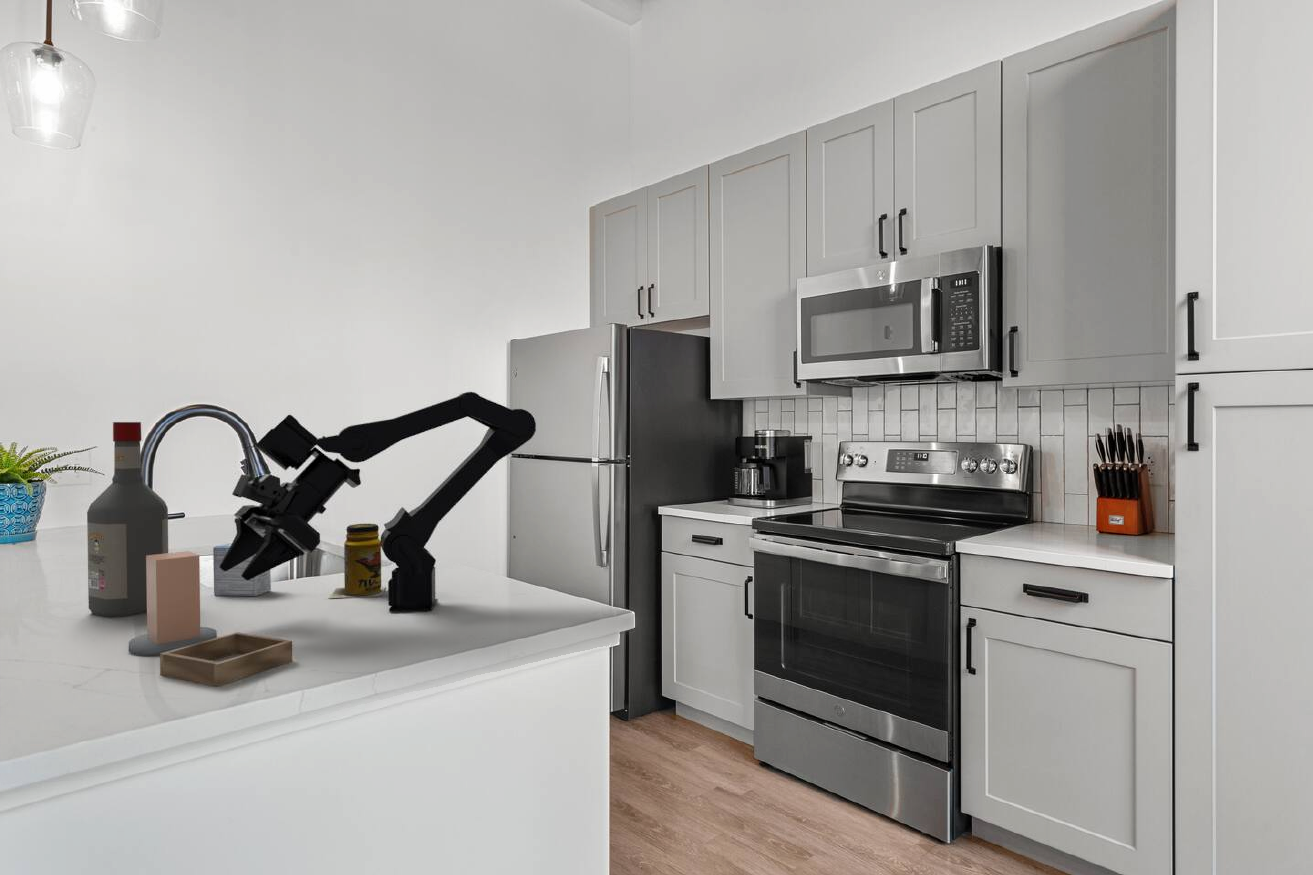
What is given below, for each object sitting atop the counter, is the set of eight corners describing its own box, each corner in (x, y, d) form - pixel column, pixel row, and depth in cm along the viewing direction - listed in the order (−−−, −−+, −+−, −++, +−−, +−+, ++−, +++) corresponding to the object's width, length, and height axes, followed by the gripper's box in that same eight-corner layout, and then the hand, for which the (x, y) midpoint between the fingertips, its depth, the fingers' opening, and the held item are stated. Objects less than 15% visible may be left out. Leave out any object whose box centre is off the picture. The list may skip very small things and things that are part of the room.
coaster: (229, 632, 107) (229, 625, 107) (194, 654, 97) (194, 646, 97) (154, 634, 106) (154, 627, 106) (111, 656, 96) (111, 649, 96)
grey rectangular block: (271, 591, 134) (271, 542, 133) (255, 597, 129) (255, 546, 129) (230, 590, 134) (229, 542, 134) (212, 596, 130) (212, 546, 130)
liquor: (113, 619, 114) (110, 422, 114) (82, 612, 118) (79, 422, 118) (175, 606, 122) (173, 422, 122) (144, 600, 127) (141, 422, 126)
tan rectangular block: (189, 629, 105) (188, 550, 105) (200, 636, 101) (199, 555, 101) (147, 636, 101) (146, 555, 101) (157, 644, 98) (155, 560, 98)
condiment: (380, 596, 129) (380, 527, 129) (327, 599, 127) (327, 528, 127) (386, 587, 136) (385, 521, 136) (336, 590, 135) (335, 523, 134)
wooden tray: (237, 651, 98) (236, 632, 98) (292, 660, 94) (292, 640, 94) (160, 674, 89) (159, 653, 89) (217, 686, 85) (217, 664, 85)
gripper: (248, 452, 116) (166, 531, 109) (295, 456, 104) (207, 545, 96) (301, 499, 122) (227, 577, 114) (352, 508, 109) (273, 596, 102)
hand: (232, 573), depth 106 cm, fingers open, 9 cm apart
